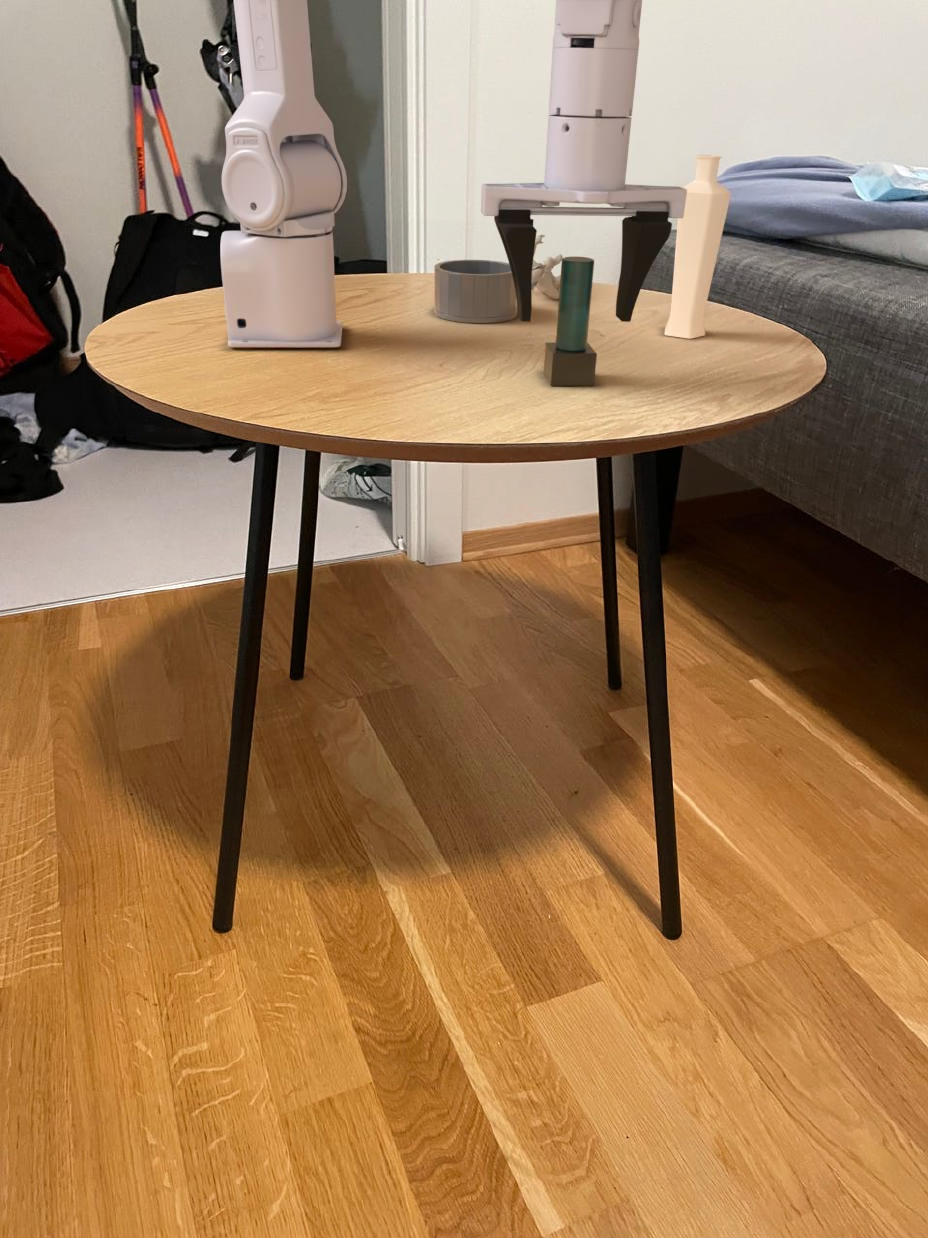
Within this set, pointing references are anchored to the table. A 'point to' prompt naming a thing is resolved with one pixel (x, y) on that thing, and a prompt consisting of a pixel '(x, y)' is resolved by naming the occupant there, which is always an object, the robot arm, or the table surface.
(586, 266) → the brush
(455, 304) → the low gray pot
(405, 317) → the table surface
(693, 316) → the peach faceted vase
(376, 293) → the table surface
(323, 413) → the table surface
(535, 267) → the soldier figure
